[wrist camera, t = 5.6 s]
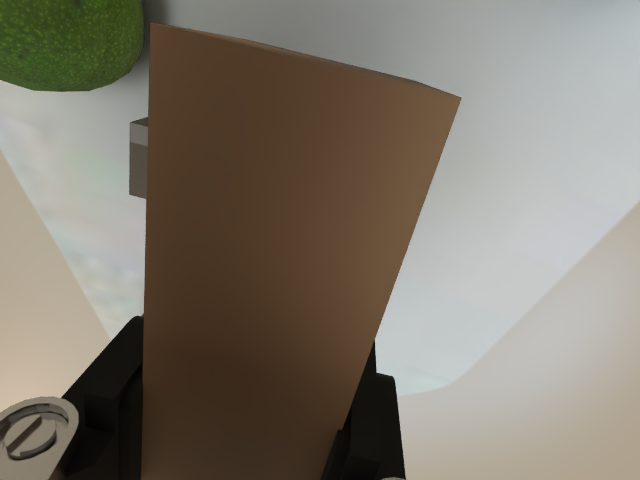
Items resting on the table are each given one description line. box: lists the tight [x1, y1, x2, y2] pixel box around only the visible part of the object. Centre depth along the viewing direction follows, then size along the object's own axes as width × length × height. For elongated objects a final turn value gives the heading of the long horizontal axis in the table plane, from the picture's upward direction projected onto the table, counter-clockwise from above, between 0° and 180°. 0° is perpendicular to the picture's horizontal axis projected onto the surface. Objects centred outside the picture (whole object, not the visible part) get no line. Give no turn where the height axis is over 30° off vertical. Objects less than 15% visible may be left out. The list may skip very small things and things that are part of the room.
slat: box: [141, 22, 461, 480], centre depth 9 cm, size 4×14×4 cm, turn 168°
